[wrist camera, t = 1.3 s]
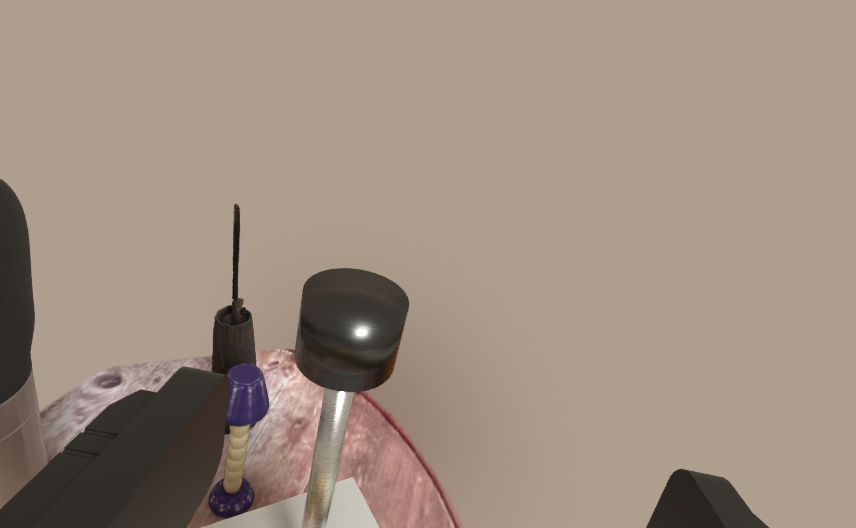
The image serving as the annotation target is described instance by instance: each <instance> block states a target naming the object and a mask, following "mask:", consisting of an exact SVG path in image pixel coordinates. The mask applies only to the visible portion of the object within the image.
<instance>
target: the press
mask: <svg viewBox="0 0 856 528" xmlns="http://www.w3.org/2000/svg"><path fill="white" fill-rule="evenodd" d="M306 497H307V492H306V493H303V494H300V495H297V496H294V497H291V498H288V499H285V500H282V501H279V502H276V503H273V504H270V505H267V506H264V507H261V508H258V509H255V510H252V511H249V512H246V513H243V514H240V515H237V516H234V517H231V518H228V519H225V520H222V521H219V522H216V523H213V524H210V525H207V526H204V527H201V528H301V527H302V521H303V515H304V509H305V503H306ZM326 528H379V526H378V524H377V522H376V520H375V519H374V517H373V515H372V513H371V511H370V509H369V507H368V505H367V503H366V501H365V499H364V497H363V496H362V494H361V492H360V490H359V488H358V486H357V484H356V482H355V480H354V478H353V477H351V478H348V479H345V480H342V481H339V482H336V483H335V487H334V491H333V496H332V501H331V506H330V511H329V516H328V521H327V526H326Z"/></svg>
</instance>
